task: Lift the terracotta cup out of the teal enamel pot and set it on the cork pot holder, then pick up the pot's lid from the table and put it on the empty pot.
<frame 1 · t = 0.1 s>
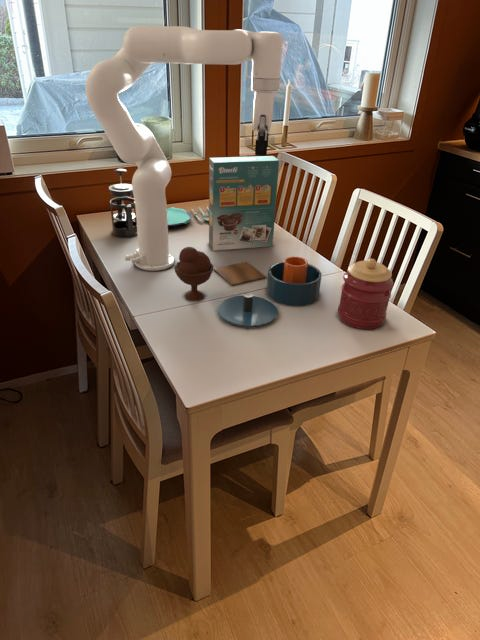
hand: (261, 151, 143), 37 cm above the table, tool pointing down, fingers open, 9 cm apart
cutlery set: (178, 220, 198), on the table
ice cream bowl: (194, 296, 146), on the table
french press: (126, 233, 185), on the table
cake mix box: (240, 245, 179), on the table
kitchen canister: (360, 318, 139), on the table
pot: (292, 293, 150), on the table
pot holder: (239, 274, 159), on the table
cup: (294, 277, 147), in the pot
lid: (247, 311, 139), point 1 cm above the table
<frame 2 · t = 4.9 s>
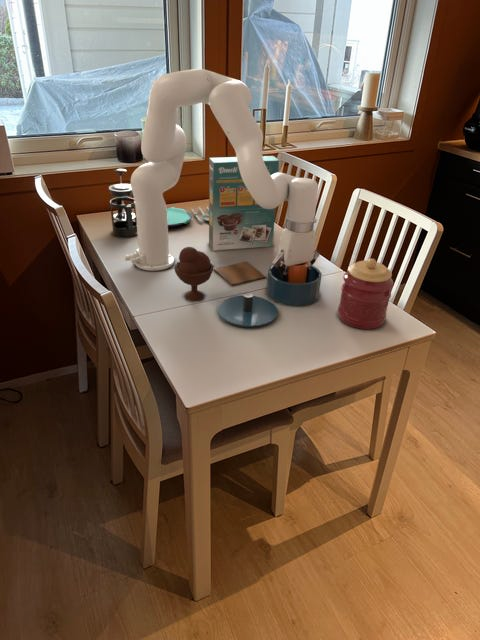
hand: (293, 282, 148), 4 cm above the table, tool pointing down, fingers closed on cup, 6 cm apart
cup: (294, 277, 147), in the pot, touching gripper
everything else where it was.
when the fingers open (4 cm above the table, at t = 13.5 s): cup stays where it is, resting on pot holder.
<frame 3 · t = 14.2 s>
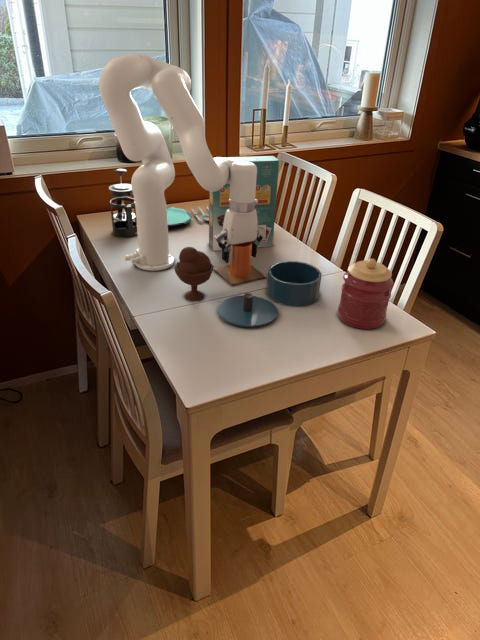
hand: (239, 258, 157), 5 cm above the table, tool pointing down, fingers open, 9 cm apart
cup: (240, 257, 156), on the pot holder, point 6 cm above the table
everything else where it was.
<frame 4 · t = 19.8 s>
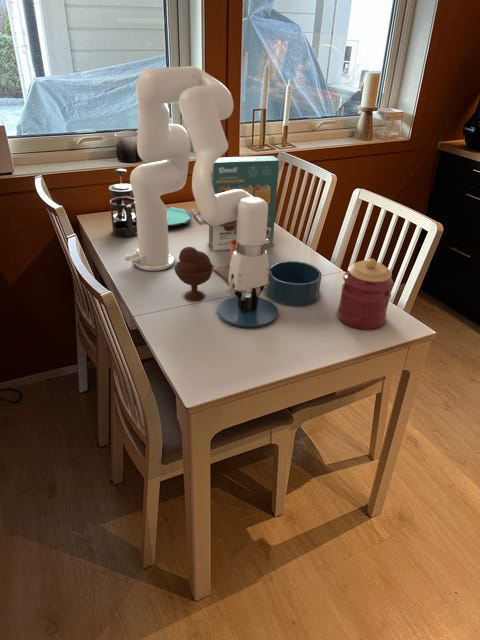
hand: (247, 308, 138), 1 cm above the table, tool pointing down, fingers closed on lid, 2 cm apart
lid: (247, 311, 139), point 1 cm above the table, touching gripper
everything else where it was.
when the fingers open (8 cm above the table, at t = 26.4 s): lid stays where it is, resting on pot.
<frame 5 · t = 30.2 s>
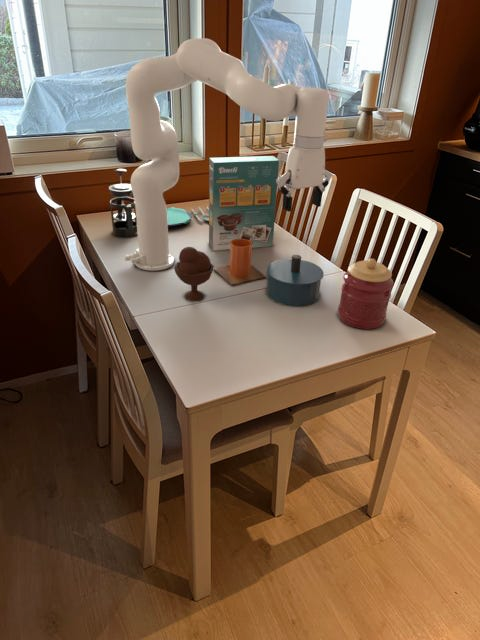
hand: (301, 207, 136), 26 cm above the table, tool pointing down, fingers open, 9 cm apart
lid: (295, 272, 146), point 7 cm above the table, touching pot
everything else where it was.
at the end: cup inside the target area on the pot holder (0.1 cm from its centre), point 5.6 cm above the pot holder's base; cup tilted 0°; lid 0.0 cm off-centre on the pot, point 6.9 cm above the pot's base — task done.
